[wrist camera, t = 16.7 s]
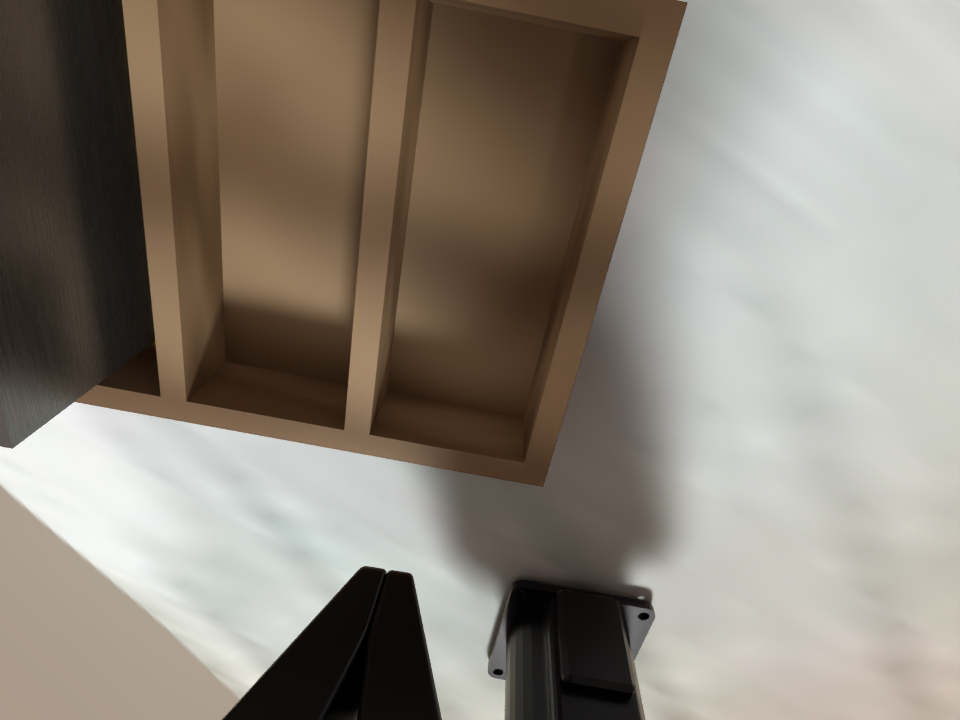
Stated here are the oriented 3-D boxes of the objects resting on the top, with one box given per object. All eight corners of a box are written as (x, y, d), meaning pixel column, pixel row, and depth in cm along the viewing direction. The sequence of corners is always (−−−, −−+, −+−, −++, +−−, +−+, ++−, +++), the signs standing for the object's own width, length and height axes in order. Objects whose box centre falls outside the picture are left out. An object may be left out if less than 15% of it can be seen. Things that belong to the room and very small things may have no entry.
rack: (539, 426, 22) (543, 490, 18) (50, 336, 21) (-36, 386, 18) (653, 15, 15) (689, 1, 12) (-40, -129, 15) (-198, -185, 11)
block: (173, 327, 20) (12, 448, 13) (85, 310, 19) (-118, 425, 13) (147, -14, 15) (-118, -71, 9) (31, -38, 15) (-319, -113, 9)
